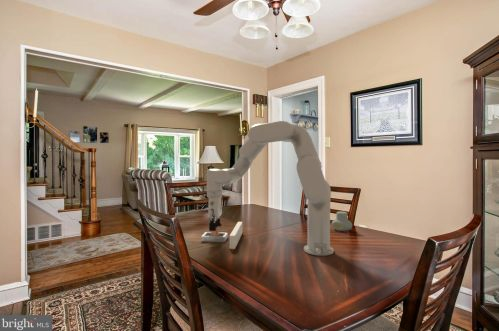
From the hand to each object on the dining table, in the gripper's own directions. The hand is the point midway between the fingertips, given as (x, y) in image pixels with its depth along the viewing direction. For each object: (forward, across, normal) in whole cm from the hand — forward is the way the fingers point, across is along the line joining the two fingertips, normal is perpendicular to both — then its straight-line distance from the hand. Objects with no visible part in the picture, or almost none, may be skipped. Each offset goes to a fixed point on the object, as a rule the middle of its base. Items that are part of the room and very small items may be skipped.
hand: (214, 228), depth 136 cm
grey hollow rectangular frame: (+6, 0, 0) cm, 6 cm away
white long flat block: (+6, 0, -11) cm, 12 cm away
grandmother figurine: (+6, 0, 0) cm, 6 cm away
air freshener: (+6, +24, -67) cm, 71 cm away
